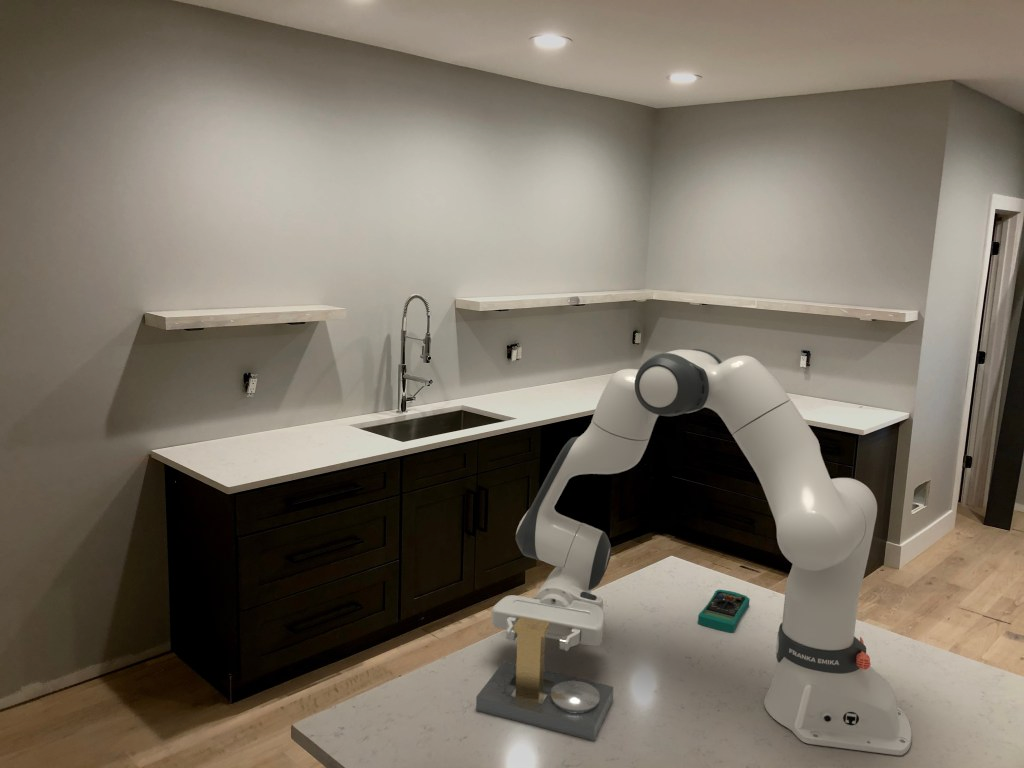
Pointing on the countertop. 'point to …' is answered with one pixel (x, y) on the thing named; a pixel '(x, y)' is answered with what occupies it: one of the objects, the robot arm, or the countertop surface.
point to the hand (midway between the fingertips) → (536, 641)
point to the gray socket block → (549, 702)
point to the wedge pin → (530, 658)
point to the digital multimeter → (724, 610)
